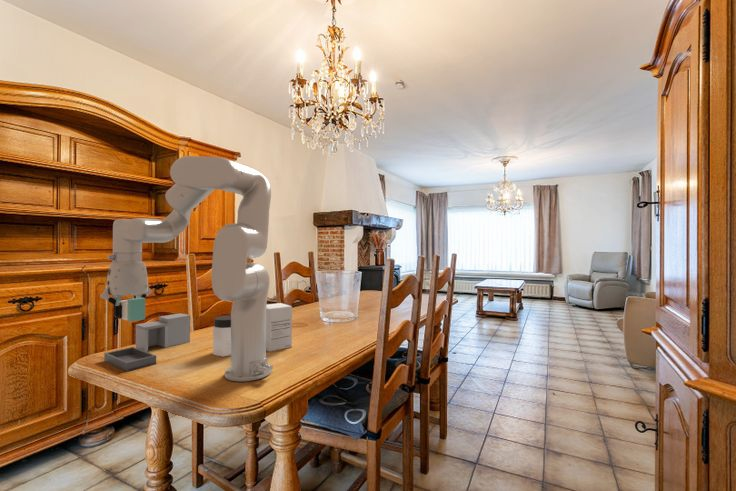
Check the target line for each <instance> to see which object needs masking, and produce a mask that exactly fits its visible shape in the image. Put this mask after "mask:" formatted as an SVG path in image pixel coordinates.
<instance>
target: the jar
mask: <svg viewBox="0 0 736 491" xmlns="http://www.w3.org/2000/svg"><path fill="white" fill-rule="evenodd" d="M213 322H214V323H213V324H214V326H213V327H212V355H214V356H217V357H221V358H223V357H228V356H230V357H231V314H230V315H227V314H226V315H220V316H217V317H215V318H214V321H213Z"/></svg>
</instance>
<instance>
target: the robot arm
mask: <svg viewBox="0 0 736 491" xmlns="http://www.w3.org/2000/svg"><path fill="white" fill-rule="evenodd" d="M169 174H170V178H171V180H172V181H173V182H174V184H173V185H172V186H171V187H170V188H169V189H168V190H166V192H165V200H166V202H167V204H169V206H170V207H171V208H172V209H173V210H172V211H171V212H170V213H169V214H168V215H167V216H166V217H165V218H164V219H159V218H158V219H157V218H147V217H136V218H131V219H130V218H118V219H115V220H114V221H113V224H112V253H111V254H110V255H109V254H108V255H107V260H108V261H109V260H110V261H111V263H109V267H108V272H107V278H106V287H105V289H104V290H103V291H102V292H101V294H100V295H99V298H101V299H103V300H105V301H108V302H109V303H110V304H111V305H113V316H114V317H115V319H119V320H122V319H121V318H122V306H121V304H120V302H121V300H122V297H125V296H132V299H134V298H145V299H146V297H148V296H149V295H150V294H152V293H153V291H152V289H151V288H150V287H149V279H148V278H149V277H148V272H147V271H148V270H147V265H146V262H143V253H142V252H143V244H149V243H150V244H152V243H154V244H155V243H158V244H159V243H160V244H161V243H163V244H164V243H169V242H171V241H173V240H175V238H177V237H179V235H180V234H181V233H183V232H184V231H185V230H186V229H187V227H188V225H189V223H190V220H191V215H192V213H191V212H192V211H193V210H194V209H195V208H196V207H198V205H200V204H201V203H202V202H203V201H204V200H206V198H207V197H208V196H210V195H211V194H212V193H213V192H214V191H215V190H218V191H219V190H220V191H224V192H227V193H232V194H237V195H240V196H242V198H241V201H240V203H239V206H238V209H237V220H236V223H233V222H232V223H229V224H228V223H227V224H225V225H223V226H222V227H221V228H220V229H219V230H218V232H217V233H216V235H215V238H214V240H213V246H212V247H213V248H212V261H211V262H212V264H211V287H212V292H213V293H214V295H215V296H216V297H217V298H218V299H219V300H221V301H224V302H232V306H231V312H230V315H231V355H230V367H228V368H227V369H226V370H225V371H224V378H225V379H226V380H229V381H231V382H240V383H241V382H252V381H256V380H261V379H263V378H265V377H268V375H270V374H271V373H272V370H273V369H274V366H273V365H272V364H270V363H269V358H268V357H267V350H266V305H267V304H268V303H267V302H268V294H269V290H270V289H269V288H270V275H269V273H268V270H267V269H266V268H265V266H262V264H259V263H256V262H248V259H256V258H261V256H263V255H264V254H265V253H266V252H267V248H268V241H269V240H268V239H269V238H268V237H269V223H270V221H269V220H270V207H271V198H272V188H271V185H270V182H269V180H268V179H267V177H266V176H264V174H262V173H261V172H259V170H256V169H255V168H251V167H250V166H248V165H245V164H242V163H240V162H236V161H234V160H232V159H228V158H226V157H220V156H199V155H198V156H197V155H194V156H192V155H186V156H182V157H179V158H178V159H176V160H175V161H174V162H173V163H172V165H171V166H170V171H169ZM111 296H113V297H111Z"/></svg>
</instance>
